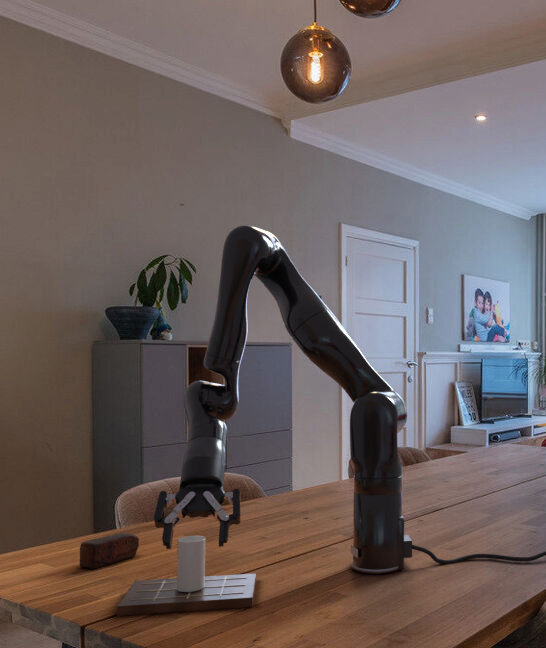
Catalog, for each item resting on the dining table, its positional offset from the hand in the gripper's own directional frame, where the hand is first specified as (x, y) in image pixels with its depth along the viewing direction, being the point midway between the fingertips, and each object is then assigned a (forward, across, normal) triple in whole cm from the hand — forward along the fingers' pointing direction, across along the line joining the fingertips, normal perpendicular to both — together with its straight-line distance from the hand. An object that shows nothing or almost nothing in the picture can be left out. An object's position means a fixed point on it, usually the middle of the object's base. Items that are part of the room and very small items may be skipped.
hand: (194, 545), depth 123 cm
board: (+8, 0, +3) cm, 8 cm away
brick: (-10, -18, +21) cm, 29 cm away
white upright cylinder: (+7, 0, +2) cm, 7 cm away
